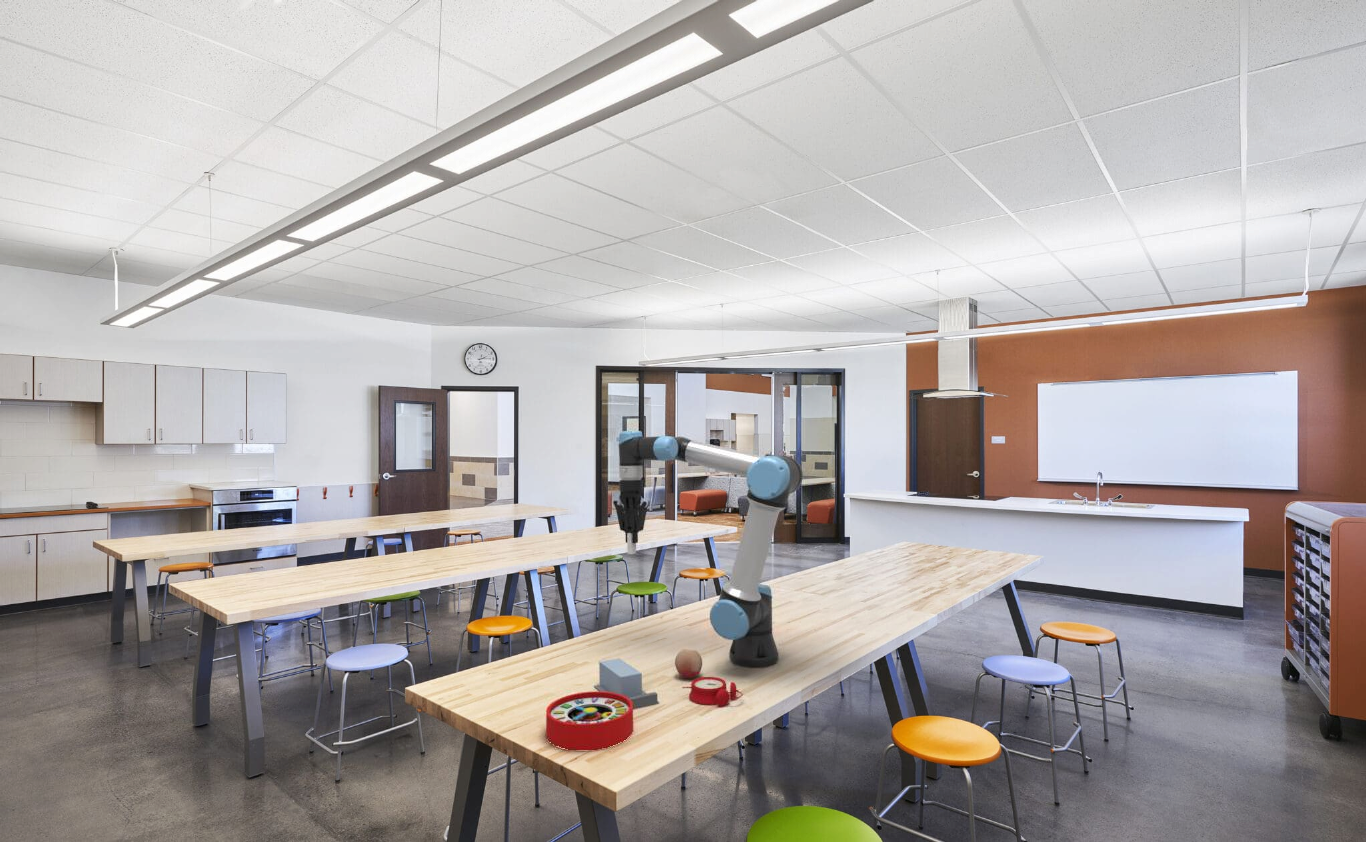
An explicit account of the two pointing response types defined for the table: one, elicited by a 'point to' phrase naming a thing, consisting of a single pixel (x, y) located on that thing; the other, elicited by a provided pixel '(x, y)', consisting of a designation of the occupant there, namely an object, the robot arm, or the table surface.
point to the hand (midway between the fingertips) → (631, 553)
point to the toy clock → (589, 720)
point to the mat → (637, 698)
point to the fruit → (688, 663)
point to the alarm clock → (711, 691)
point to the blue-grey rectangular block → (620, 678)
